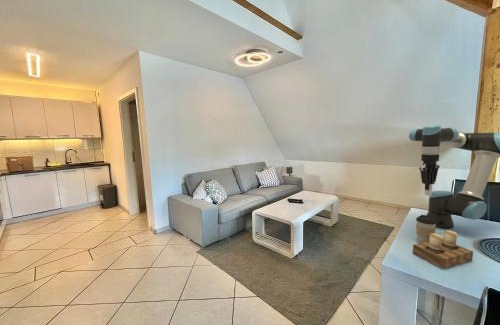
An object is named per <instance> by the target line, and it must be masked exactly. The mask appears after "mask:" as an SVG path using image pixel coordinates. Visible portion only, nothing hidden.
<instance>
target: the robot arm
mask: <svg viewBox="0 0 500 325" xmlns="http://www.w3.org/2000/svg"><path fill="white" fill-rule="evenodd" d="M408 138H409V140H410V141H412V142H421V158H420V159H421V160H420V161H422V162H423V163H422V165H421V167H419V171H420V179H421V183H422V184H424V196H428V209H427V210H428V211H427V213H426V214H425V215H426V216H429V217H432V218H434V220H436V223H437V224H436V226H435V227H436V229H441V230H453V229H455V223H454V219H453V216H452V215H455V216H459V217H462V218H464V219H470V220H474V221H475V220H479V219H481V218H482V217H483V216H484V215H485V214H486V212H487V210H488V208H487V206H488V205H487V204H486V202H484V201H485V199H484V197H483V193H484V191H485V190H486V187H487V184H488V181H489V179H490V176H491V174H492V171H493V169H494V167H495V164H496V161H497V159H499V158H500V132H498V131H497V132H470V133H465V132H464V133H460V132H459V131H458V130H457V129H456V128H454V127H443V128H441V125H440V124H438V125H425V126H423V127H422V128H415V129H411V130H410V131H409V135H408ZM441 145H442V146H443V145H445V146H450V147H451V148H454V149H459V150H465V151H471V152H473V153H474V155H475V157H474V160H473V162H472V165H471V168H470V170H469V172H468V175H467V177H466V180H465V182H464V185H463V188H462V190H461V191H458V192H457V193H456V195H454V192H453V191H450V190H449V191H448V190H433V185H435V184H436V181H437V176H438V171H439V170H440V167H441V166H440V165H438V164H437V163H438V162H439V161H440V150H441V149H440V148H441V147H440V146H441Z"/></svg>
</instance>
